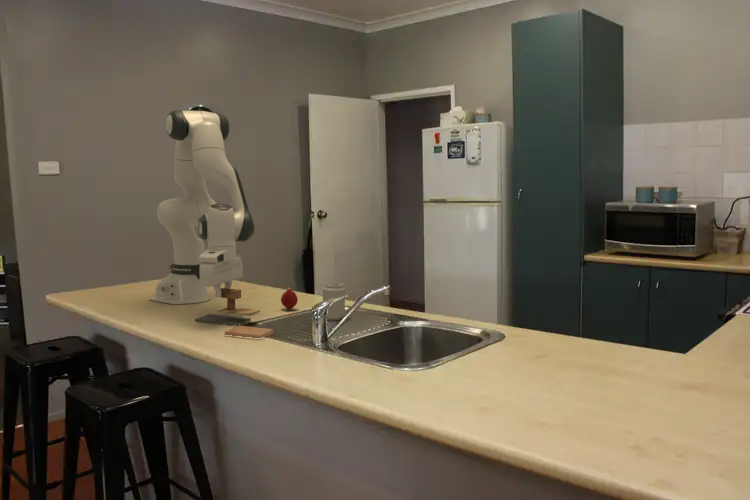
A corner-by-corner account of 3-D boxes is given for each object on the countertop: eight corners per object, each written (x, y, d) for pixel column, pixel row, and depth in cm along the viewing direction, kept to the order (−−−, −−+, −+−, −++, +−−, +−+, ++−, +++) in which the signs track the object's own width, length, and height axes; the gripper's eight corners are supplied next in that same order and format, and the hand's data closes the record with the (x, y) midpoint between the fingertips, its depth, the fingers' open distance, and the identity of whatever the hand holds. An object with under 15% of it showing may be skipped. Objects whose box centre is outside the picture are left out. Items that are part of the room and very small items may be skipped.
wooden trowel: (213, 311, 210) (212, 290, 210) (223, 308, 216) (222, 287, 215) (250, 315, 206) (250, 293, 205) (260, 311, 211) (260, 290, 211)
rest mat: (195, 321, 212) (195, 319, 212) (209, 316, 220) (209, 314, 219) (237, 326, 207) (237, 323, 207) (250, 320, 214) (250, 318, 214)
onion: (299, 308, 234) (299, 286, 233) (295, 311, 228) (295, 289, 227) (283, 307, 235) (283, 286, 234) (279, 311, 229) (279, 289, 228)
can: (349, 318, 219) (349, 283, 218) (333, 322, 214) (333, 286, 212) (334, 315, 224) (334, 280, 223) (318, 318, 219) (318, 283, 218)
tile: (224, 331, 194) (259, 335, 190) (238, 325, 202) (272, 329, 198) (224, 337, 194) (260, 341, 191) (238, 331, 202) (273, 335, 198)
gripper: (231, 249, 221) (231, 289, 223) (195, 257, 202) (196, 300, 204) (247, 250, 219) (247, 291, 221) (212, 258, 200) (213, 302, 202)
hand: (223, 295), depth 212 cm, fingers closed on wooden trowel, 3 cm apart
